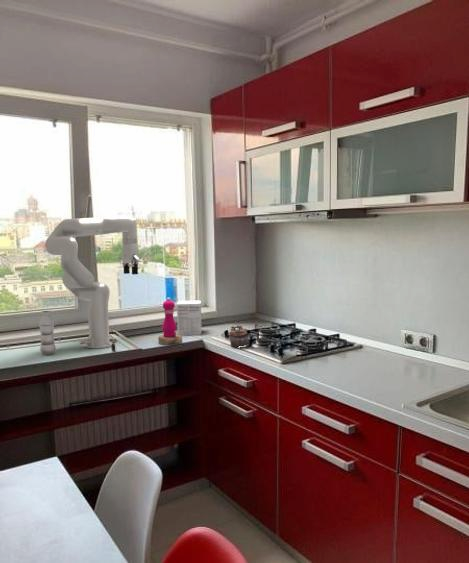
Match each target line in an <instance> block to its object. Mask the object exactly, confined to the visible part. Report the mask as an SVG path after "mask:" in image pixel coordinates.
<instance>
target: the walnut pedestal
mask: <svg viewBox="0 0 469 563" xmlns="http://www.w3.org/2000/svg"><path fill="white" fill-rule="evenodd" d="M157 342H158V344H160V345H166V346H167V345H169V346H170V345H178V344H181V343H183V335H179V334H178V333H176V336H175V337H164V334H161V335H159V336H158V337H157Z"/></svg>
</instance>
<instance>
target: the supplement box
mask: <svg viewBox="0 0 469 563" xmlns="http://www.w3.org/2000/svg"><path fill="white" fill-rule="evenodd" d="M176 316H177V317H176V318H177V322H176V326H177V334H179V335H182V336H199V335H202V301H201V300H178V302H177V303H176Z"/></svg>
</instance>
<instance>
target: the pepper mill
mask: <svg viewBox="0 0 469 563" xmlns="http://www.w3.org/2000/svg"><path fill="white" fill-rule="evenodd" d="M175 307H176V304H175V302H174V301H173V300H171V297H167V298H166V300H165V301H164V302H163V303H162V308H163V309H164V310H163V313H164V321H163V323H162V329H161V330H162V331H163V334H162V335H164V337H175V336H176V334H177V333H176V332H177V331H176V330H178V327H177V322H176V321H175V318H174V313H175V310H174V309H175Z"/></svg>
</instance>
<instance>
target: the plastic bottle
mask: <svg viewBox="0 0 469 563" xmlns="http://www.w3.org/2000/svg"><path fill="white" fill-rule="evenodd" d="M38 326H39V332H40V349H39V350H40V353H41V355H45V356H49V355H54V354H55V352H56V344H55V339H54V329H55V322H54V319H53V318H52V317H51V310H43V311H41V318H40V319H39V321H38Z"/></svg>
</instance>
